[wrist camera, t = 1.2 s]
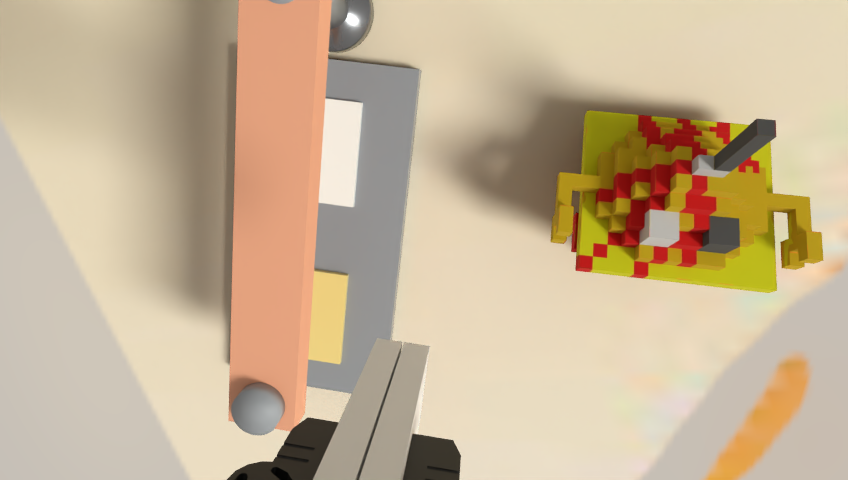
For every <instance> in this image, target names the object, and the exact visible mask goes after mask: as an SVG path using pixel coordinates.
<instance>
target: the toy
mask: <svg viewBox="0 0 848 480" xmlns="http://www.w3.org/2000/svg"><path fill="white" fill-rule="evenodd" d="M775 137H776V121H775V120H765V119H756V120H755V121H754V122H753V123H751V124H750V125H744V124H733V123H722V122H711V121H700V120H689V119H678V118H667V117H656V116H645V115H634V114H623V113H612V112H600V111H589V110H587V112H586V114H585V116H584V133H583V150H582V167H581V174H574V173H564V172H560V173H559V175H558V177H557V189H556V203H555V214H554V216H553V217H552V230H551V242H553V243H562V244H564V243H565V242H566V240H567V236H570V235H571V234H572V249H571V252H577V254H576V271H584V272H592V273H601V274H610V275H618V276H627V277H636V278H644V279H653V280H662V281H670V282H679V283H687V284H696V285H705V286H713V287H722V288H731V289H739V290H748V291H757V292H765V293H770V292H773V291H777V283H776V260H775V236H774V213H773V212H783V213H787V214H788V233H789V239H787V240H785V241H782V242H781V261H782V268H786V269H795V270H796V269H799V268H802V267H805V265H804V263H813V264H814V263H817V262H820V261H823V249H822V235H821V232H812V229H811V213H810V197H803V196H793V195H783V194H773V190H772V167H771V144H770V141H771V140H772V139H774V138H775ZM572 191H580V202H579V213H577V212H576V213H575V215H574V216H573V214H574V206H571V202H572ZM572 230H573V232H572Z"/></svg>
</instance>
